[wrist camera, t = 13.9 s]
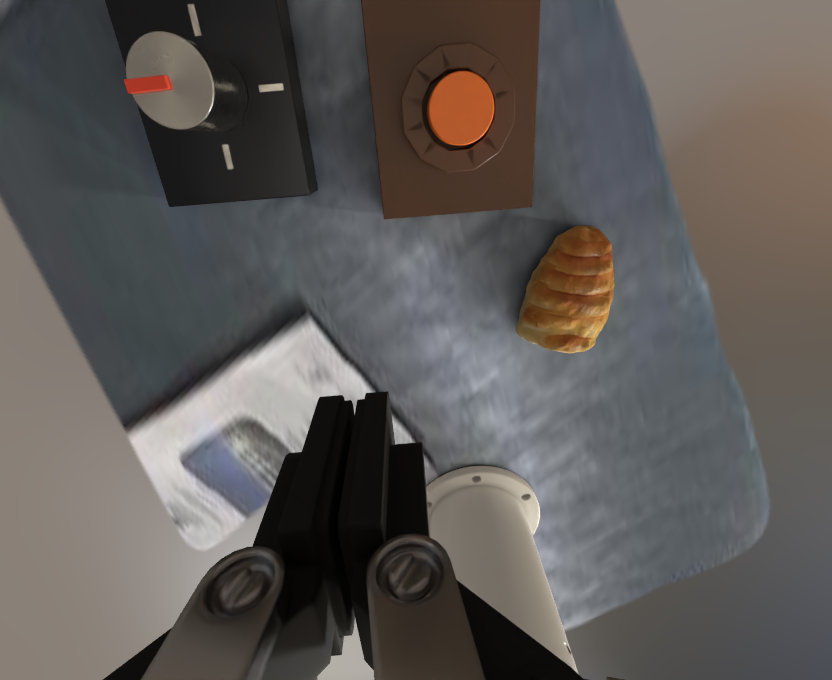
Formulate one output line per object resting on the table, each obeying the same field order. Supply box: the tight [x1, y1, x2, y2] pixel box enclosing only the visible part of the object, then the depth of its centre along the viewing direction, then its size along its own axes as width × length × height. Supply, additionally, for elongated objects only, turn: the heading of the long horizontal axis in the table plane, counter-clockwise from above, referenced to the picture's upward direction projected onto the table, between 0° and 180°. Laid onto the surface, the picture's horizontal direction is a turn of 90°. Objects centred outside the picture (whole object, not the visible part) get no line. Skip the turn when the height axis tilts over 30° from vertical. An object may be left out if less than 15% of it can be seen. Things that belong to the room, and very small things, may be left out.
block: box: [361, 0, 540, 219], centre depth 26 cm, size 12×10×4 cm
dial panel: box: [105, 0, 318, 207], centre depth 26 cm, size 12×9×3 cm
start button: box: [427, 71, 494, 145], centre depth 24 cm, size 4×4×2 cm
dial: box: [124, 31, 248, 131], centre depth 22 cm, size 4×4×5 cm
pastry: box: [516, 225, 615, 353], centre depth 32 cm, size 9×7×4 cm
